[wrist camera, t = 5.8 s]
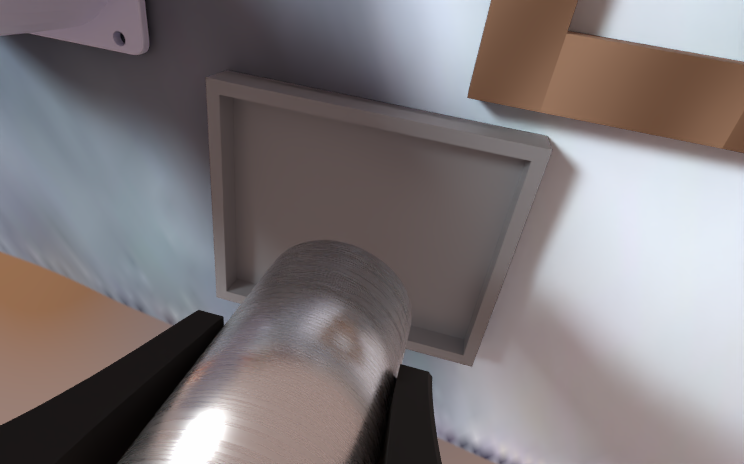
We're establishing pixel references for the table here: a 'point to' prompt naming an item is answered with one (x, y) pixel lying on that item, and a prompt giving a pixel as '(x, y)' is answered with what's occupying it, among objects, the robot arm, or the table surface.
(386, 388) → the steel pin
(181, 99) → the table surface
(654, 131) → the socket block
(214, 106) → the tray
